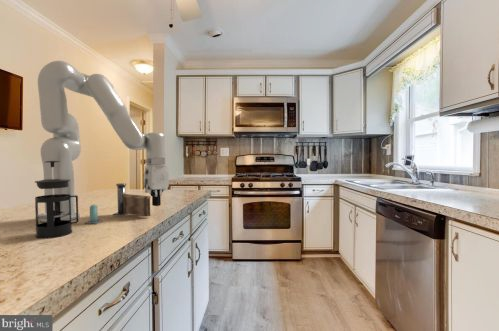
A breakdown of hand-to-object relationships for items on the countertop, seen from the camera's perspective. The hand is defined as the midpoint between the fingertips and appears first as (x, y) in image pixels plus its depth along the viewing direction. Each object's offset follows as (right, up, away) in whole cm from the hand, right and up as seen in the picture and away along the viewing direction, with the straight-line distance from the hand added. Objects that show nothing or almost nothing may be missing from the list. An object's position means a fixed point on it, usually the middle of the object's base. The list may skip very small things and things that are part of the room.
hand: (156, 205), depth 114 cm
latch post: (-18, -4, -16) cm, 24 cm away
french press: (-21, -5, -29) cm, 37 cm away
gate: (-6, -3, -5) cm, 9 cm away
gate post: (-14, -4, 0) cm, 15 cm away
